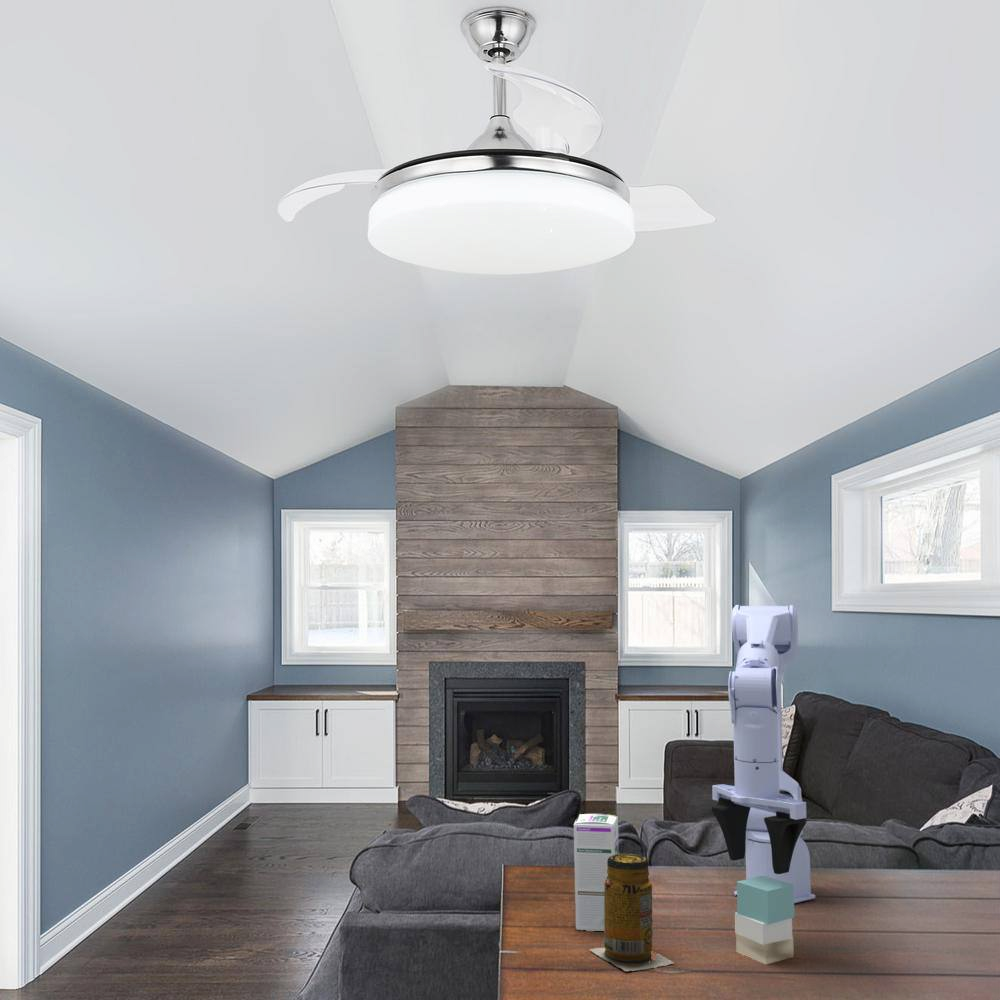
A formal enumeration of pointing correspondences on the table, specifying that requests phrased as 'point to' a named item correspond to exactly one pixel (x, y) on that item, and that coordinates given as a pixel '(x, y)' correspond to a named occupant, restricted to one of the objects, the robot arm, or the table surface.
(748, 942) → the maple brick
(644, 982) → the table surface
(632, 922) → the condiment
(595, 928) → the syrup box
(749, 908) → the teal brick
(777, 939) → the white brick
